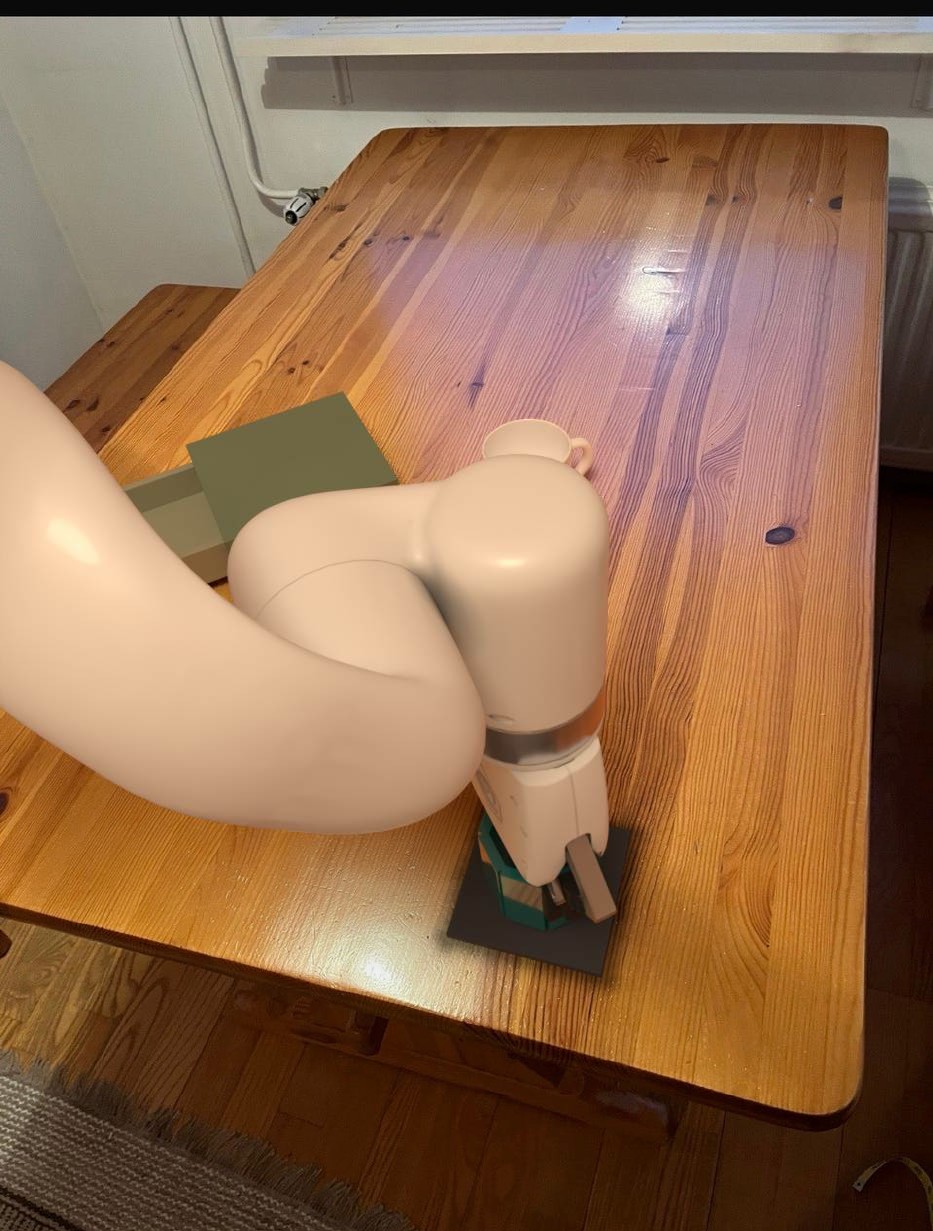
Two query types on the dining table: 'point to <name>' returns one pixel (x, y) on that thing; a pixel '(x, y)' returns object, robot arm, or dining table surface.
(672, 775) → the dining table surface
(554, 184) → the dining table surface
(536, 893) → the green octagonal cup
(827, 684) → the dining table surface
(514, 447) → the cup
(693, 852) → the dining table surface
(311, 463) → the cabinet
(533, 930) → the mat
